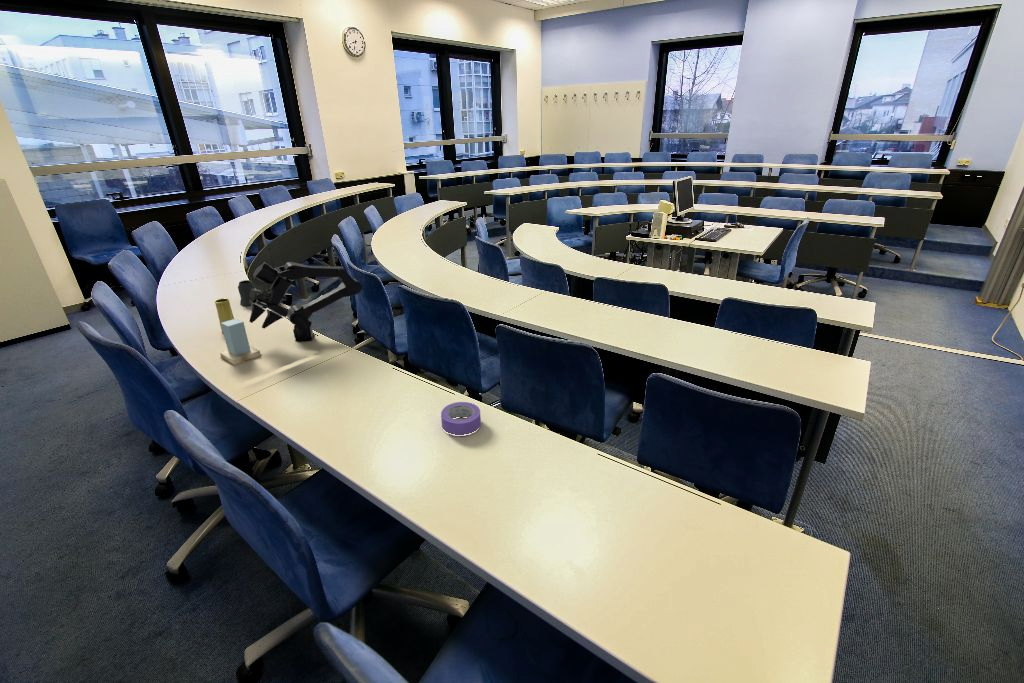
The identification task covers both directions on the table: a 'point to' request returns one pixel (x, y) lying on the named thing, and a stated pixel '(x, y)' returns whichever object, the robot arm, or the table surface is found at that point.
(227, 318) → the vase
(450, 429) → the tape roll
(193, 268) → the table surface
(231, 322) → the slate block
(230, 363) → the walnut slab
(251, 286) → the mug
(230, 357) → the birch slab
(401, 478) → the table surface
